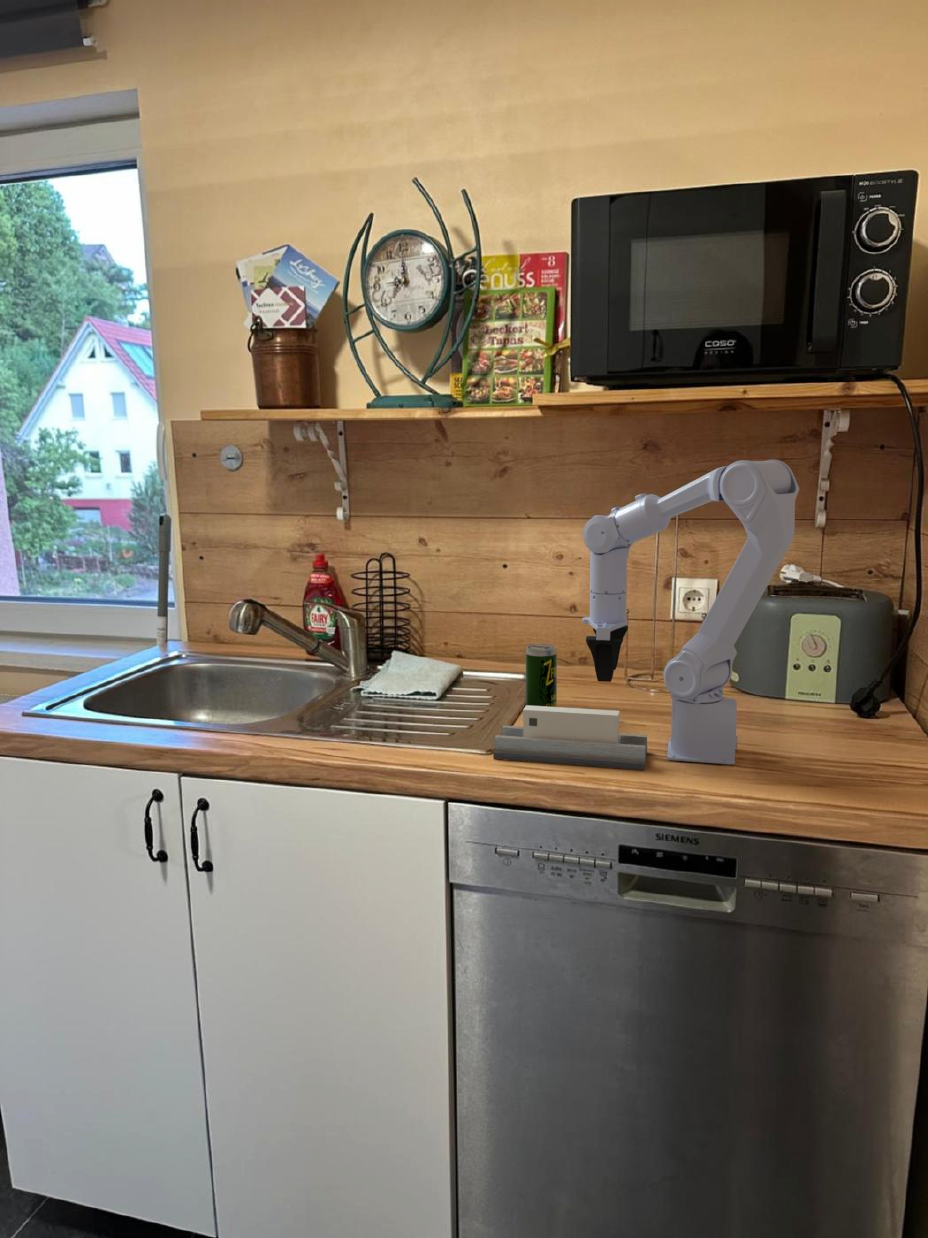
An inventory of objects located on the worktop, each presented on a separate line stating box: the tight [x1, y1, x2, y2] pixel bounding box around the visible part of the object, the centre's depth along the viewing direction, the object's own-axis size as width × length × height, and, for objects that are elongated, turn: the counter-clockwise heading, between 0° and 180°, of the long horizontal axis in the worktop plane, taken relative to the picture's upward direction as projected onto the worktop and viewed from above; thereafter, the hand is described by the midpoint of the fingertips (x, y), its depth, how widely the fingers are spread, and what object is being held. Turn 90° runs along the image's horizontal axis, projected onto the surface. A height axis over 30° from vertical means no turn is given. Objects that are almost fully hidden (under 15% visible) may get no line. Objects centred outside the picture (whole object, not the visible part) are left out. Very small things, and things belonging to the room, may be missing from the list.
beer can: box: [525, 643, 558, 707], centre depth 144 cm, size 5×5×12 cm
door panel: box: [522, 704, 621, 744], centre depth 124 cm, size 14×2×6 cm, turn 75°
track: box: [492, 724, 648, 771], centre depth 125 cm, size 22×8×3 cm, turn 75°
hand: (607, 675), depth 134 cm, fingers open, 7 cm apart
